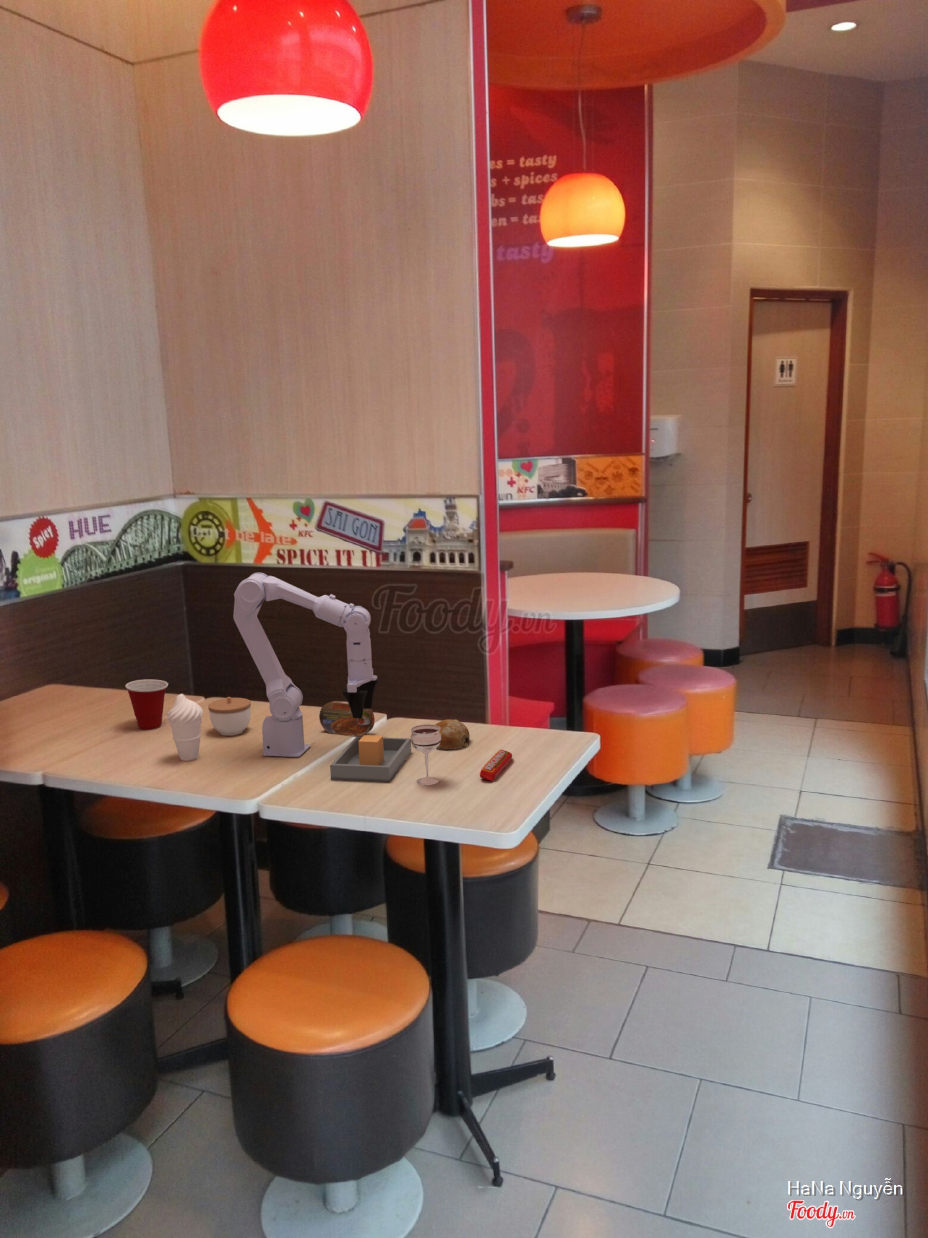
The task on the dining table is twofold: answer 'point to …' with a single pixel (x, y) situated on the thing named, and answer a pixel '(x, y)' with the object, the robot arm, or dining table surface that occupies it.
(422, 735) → the wineglass
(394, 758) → the serving tray
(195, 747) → the soft serve ice cream cone
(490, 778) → the candy bar
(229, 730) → the lidded jar
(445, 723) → the bread roll
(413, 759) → the dining table surface
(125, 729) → the dining table surface
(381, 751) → the orange block
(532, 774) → the dining table surface
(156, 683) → the plastic cup
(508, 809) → the dining table surface
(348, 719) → the tin
